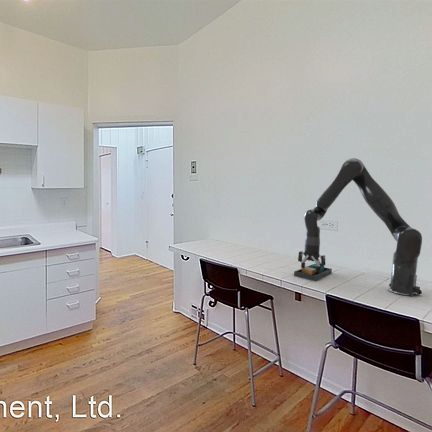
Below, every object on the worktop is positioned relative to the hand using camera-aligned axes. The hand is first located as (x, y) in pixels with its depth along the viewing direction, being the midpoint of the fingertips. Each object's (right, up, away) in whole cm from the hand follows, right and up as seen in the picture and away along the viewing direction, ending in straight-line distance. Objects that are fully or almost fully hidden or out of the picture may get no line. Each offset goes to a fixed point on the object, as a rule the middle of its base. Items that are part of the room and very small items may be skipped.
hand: (310, 270), depth 176 cm
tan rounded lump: (-1, -3, +1) cm, 3 cm away
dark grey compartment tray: (+3, -3, +4) cm, 6 cm away
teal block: (+8, -2, +7) cm, 11 cm away
